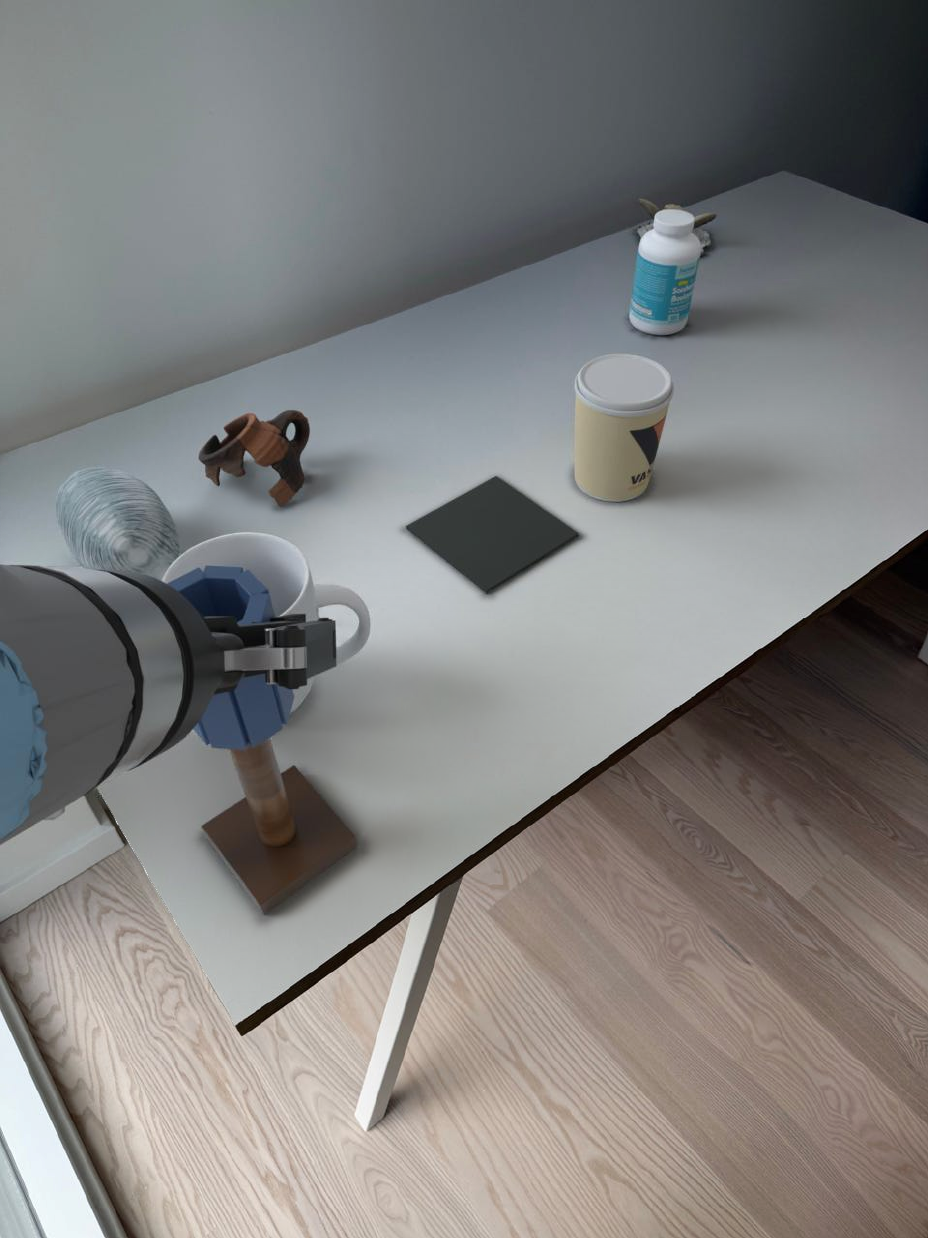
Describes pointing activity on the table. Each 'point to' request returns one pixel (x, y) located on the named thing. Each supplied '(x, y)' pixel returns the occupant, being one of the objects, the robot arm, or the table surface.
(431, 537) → the mat
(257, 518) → the table surface
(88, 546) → the streaked grey ellipsoid
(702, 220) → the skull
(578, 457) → the cream lidded canister
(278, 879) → the dowel stand
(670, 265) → the pill bottle
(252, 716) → the sleeve
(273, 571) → the mug
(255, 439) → the brown looped piece
